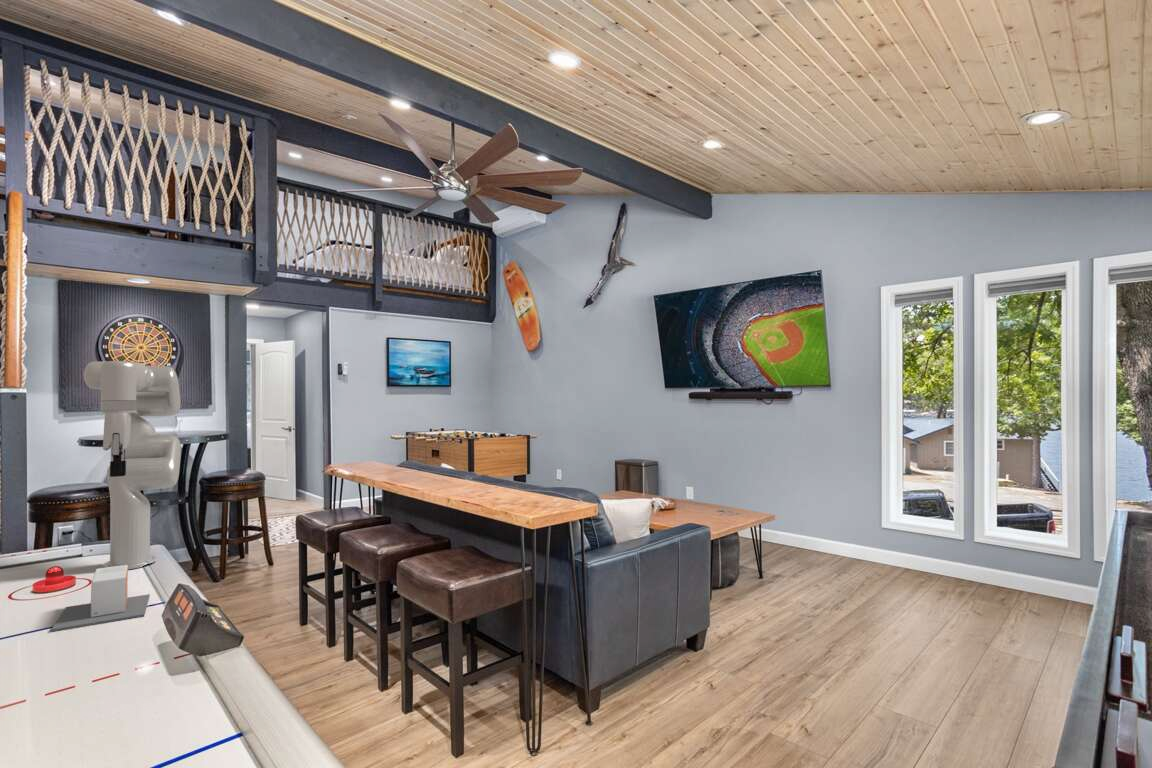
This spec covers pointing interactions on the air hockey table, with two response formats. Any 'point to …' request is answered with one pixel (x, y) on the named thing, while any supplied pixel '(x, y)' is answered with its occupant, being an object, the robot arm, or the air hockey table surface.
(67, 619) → the mat
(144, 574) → the air hockey table surface
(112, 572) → the small box
